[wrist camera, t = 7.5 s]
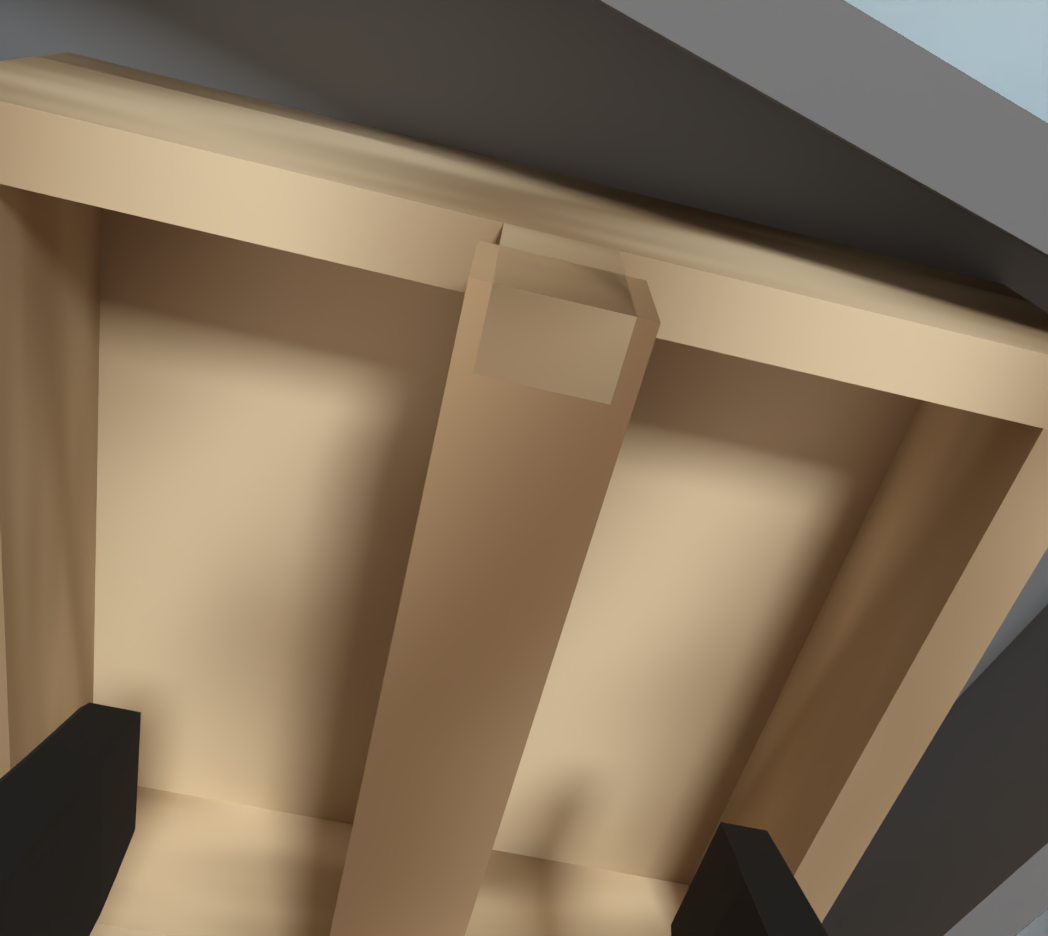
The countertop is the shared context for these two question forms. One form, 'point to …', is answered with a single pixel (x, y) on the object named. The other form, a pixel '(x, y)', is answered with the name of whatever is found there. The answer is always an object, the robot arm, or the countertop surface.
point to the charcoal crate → (724, 188)
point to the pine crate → (476, 516)
